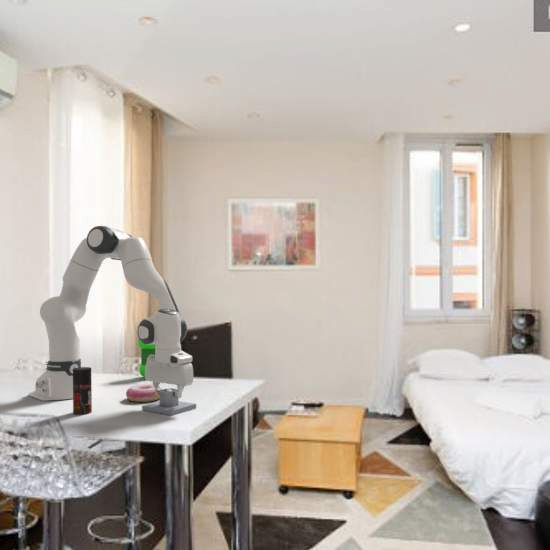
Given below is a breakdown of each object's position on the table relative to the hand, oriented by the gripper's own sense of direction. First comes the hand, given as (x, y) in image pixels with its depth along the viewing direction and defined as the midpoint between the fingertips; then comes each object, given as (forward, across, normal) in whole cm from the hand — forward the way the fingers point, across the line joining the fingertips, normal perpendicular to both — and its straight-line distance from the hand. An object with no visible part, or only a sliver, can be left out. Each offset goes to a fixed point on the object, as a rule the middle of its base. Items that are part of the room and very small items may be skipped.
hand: (168, 396), depth 190 cm
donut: (+5, -19, +7) cm, 21 cm away
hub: (+3, 0, 0) cm, 3 cm away
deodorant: (+5, -22, -19) cm, 29 cm away
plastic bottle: (+5, -51, +40) cm, 65 cm away
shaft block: (+4, 0, 0) cm, 5 cm away
